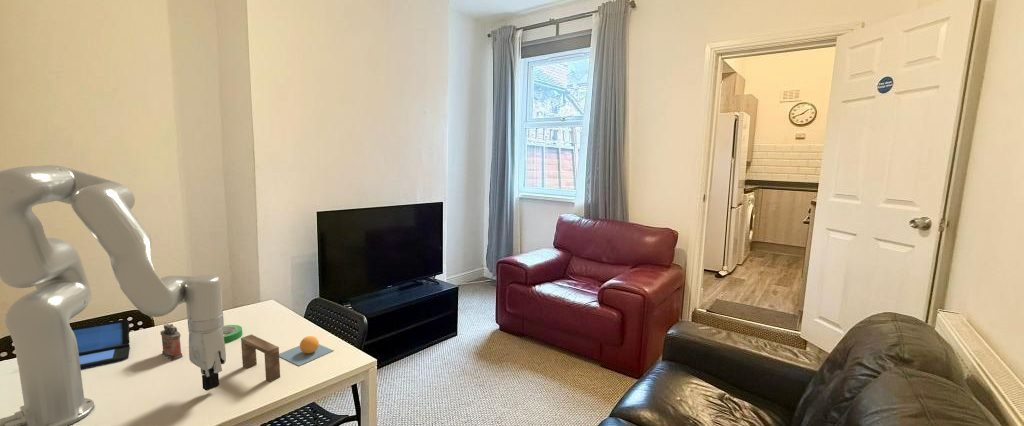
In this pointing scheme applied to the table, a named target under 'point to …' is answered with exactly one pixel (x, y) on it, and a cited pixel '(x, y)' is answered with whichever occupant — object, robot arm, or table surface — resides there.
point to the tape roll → (232, 333)
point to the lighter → (171, 342)
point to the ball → (309, 344)
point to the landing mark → (303, 355)
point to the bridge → (270, 352)
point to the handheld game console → (102, 343)
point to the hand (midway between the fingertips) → (211, 387)
